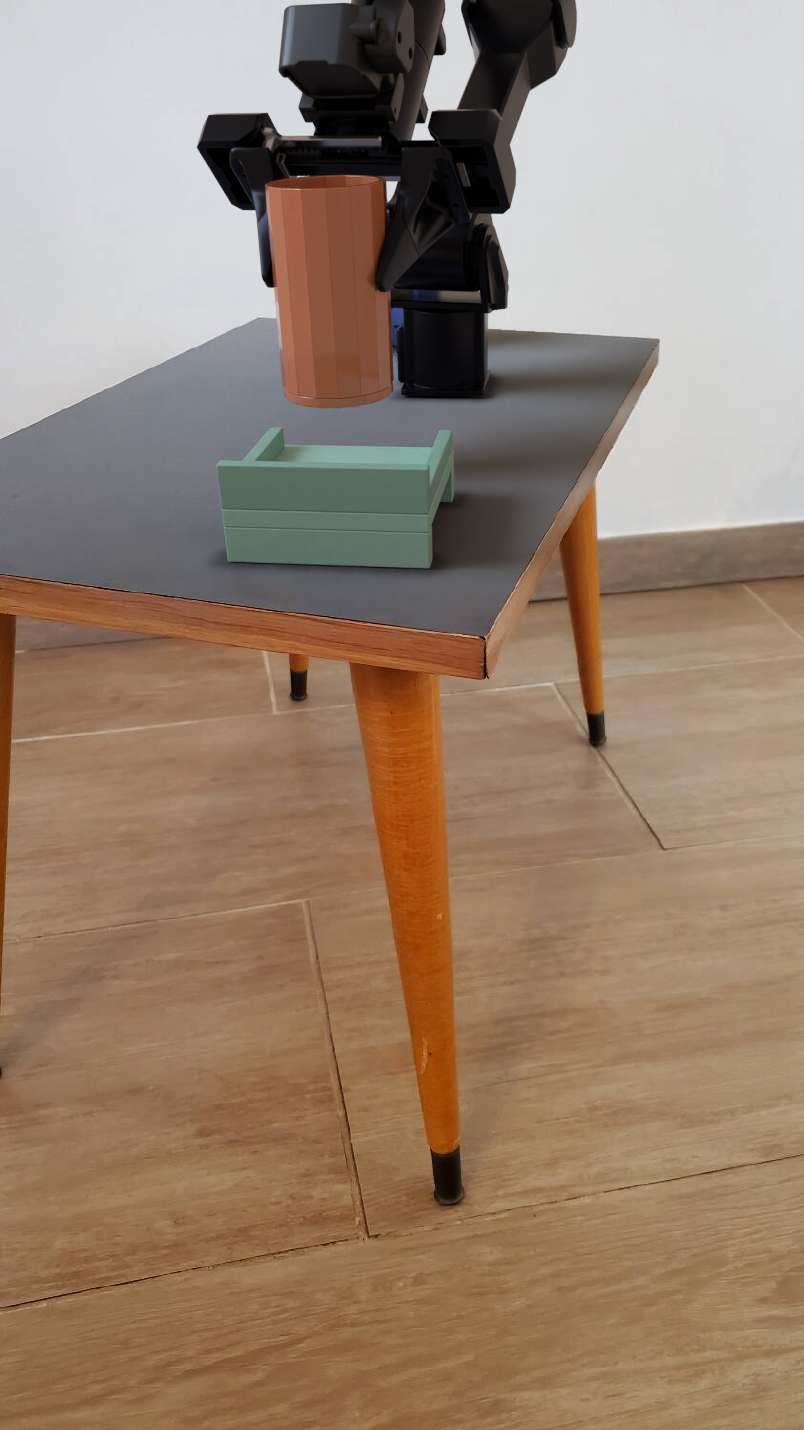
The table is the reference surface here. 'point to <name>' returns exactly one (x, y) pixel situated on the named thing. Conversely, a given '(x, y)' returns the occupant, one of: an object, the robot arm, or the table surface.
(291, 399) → the cup
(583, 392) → the table surface
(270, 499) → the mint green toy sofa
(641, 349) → the table surface
